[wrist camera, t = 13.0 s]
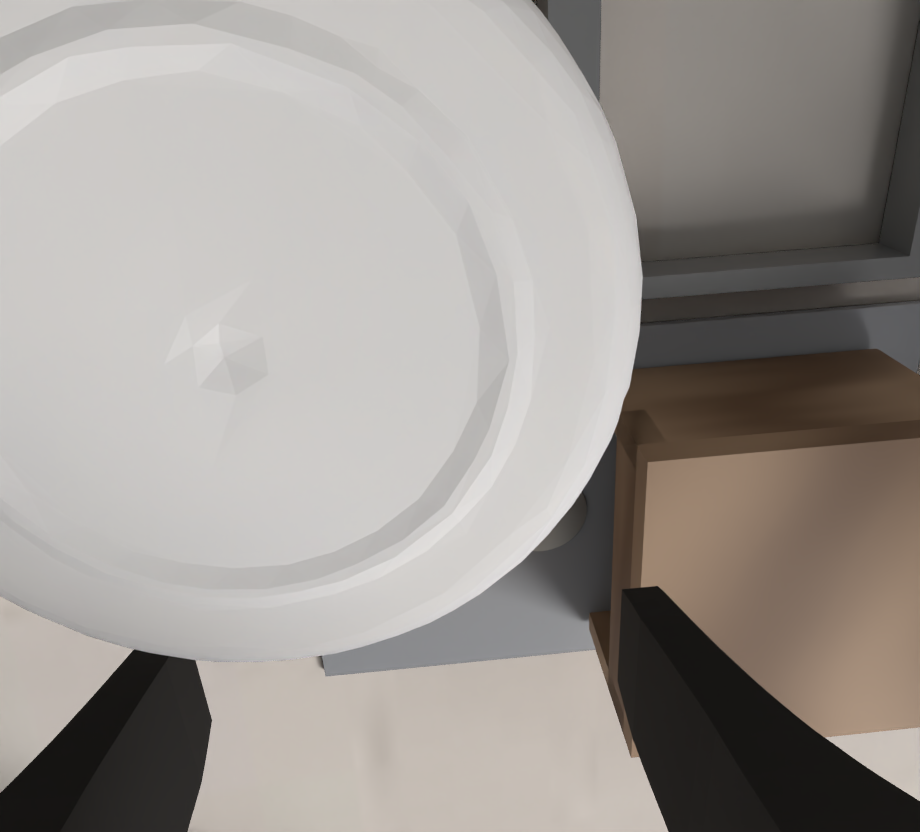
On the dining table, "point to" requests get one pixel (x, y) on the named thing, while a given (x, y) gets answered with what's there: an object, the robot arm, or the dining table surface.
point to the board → (592, 515)
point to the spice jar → (297, 313)
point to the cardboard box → (779, 527)
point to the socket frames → (895, 256)
